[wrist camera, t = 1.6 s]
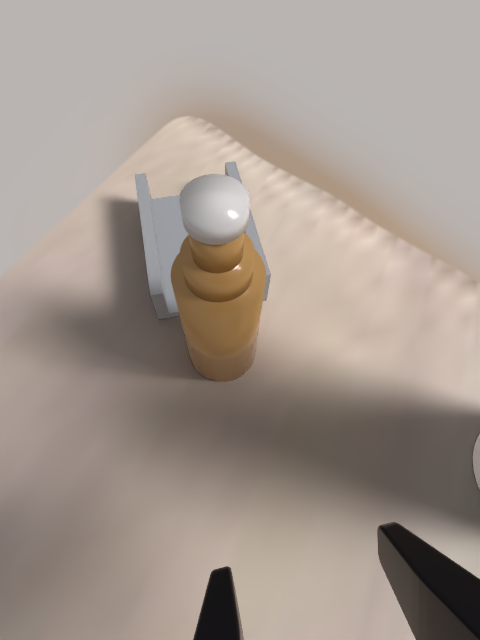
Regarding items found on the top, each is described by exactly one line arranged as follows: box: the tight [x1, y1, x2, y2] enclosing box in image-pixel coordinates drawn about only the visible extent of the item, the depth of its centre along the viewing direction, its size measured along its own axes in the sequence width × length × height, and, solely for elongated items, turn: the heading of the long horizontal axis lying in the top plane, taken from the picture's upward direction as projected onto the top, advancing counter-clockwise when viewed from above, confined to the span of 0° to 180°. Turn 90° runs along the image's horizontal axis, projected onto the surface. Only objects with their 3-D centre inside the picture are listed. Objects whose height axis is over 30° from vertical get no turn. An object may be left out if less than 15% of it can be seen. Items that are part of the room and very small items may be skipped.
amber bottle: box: [171, 174, 266, 381], centre depth 19 cm, size 4×4×14 cm
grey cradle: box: [135, 162, 271, 319], centre depth 28 cm, size 11×8×3 cm
